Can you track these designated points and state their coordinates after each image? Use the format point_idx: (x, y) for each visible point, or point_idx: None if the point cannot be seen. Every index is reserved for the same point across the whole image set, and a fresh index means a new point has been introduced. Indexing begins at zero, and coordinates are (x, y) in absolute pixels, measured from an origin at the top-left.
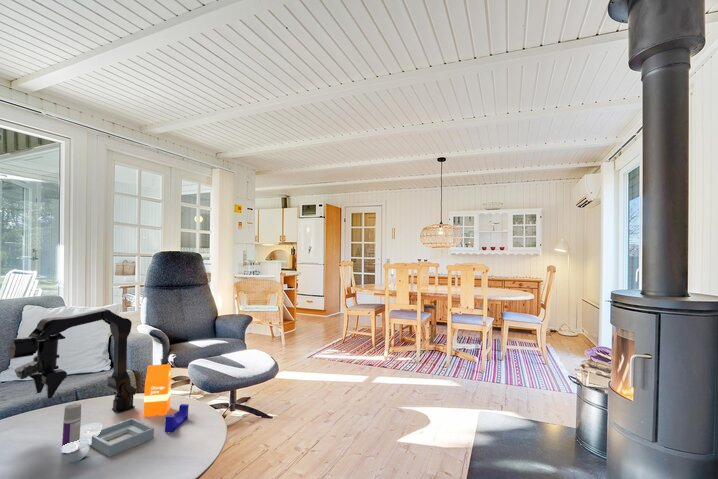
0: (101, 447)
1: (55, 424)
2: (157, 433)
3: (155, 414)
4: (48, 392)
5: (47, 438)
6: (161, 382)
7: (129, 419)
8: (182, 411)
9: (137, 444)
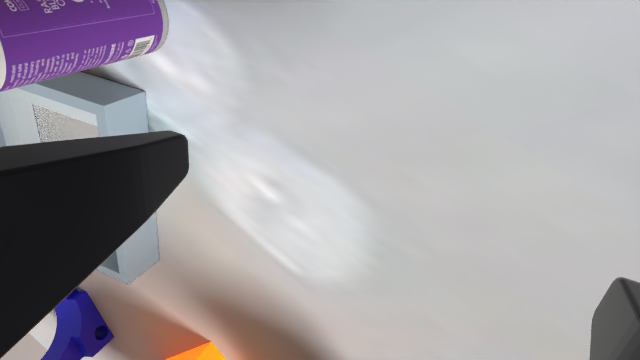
0: None
1: (562, 223)
2: None
3: (181, 356)
4: (49, 150)
5: (388, 58)
6: None
7: (122, 271)
8: (57, 346)
9: None
